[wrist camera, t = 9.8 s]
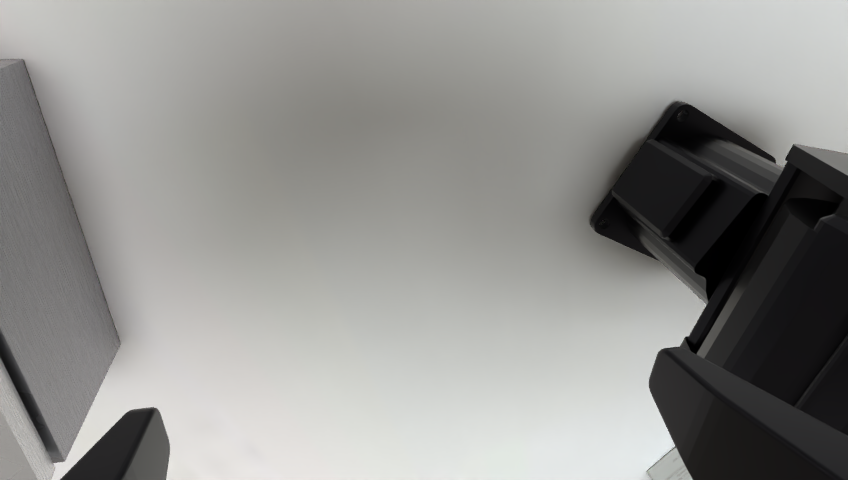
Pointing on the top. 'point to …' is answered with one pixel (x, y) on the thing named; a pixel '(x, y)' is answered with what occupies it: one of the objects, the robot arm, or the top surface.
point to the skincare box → (669, 468)
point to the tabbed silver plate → (19, 438)
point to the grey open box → (46, 277)
